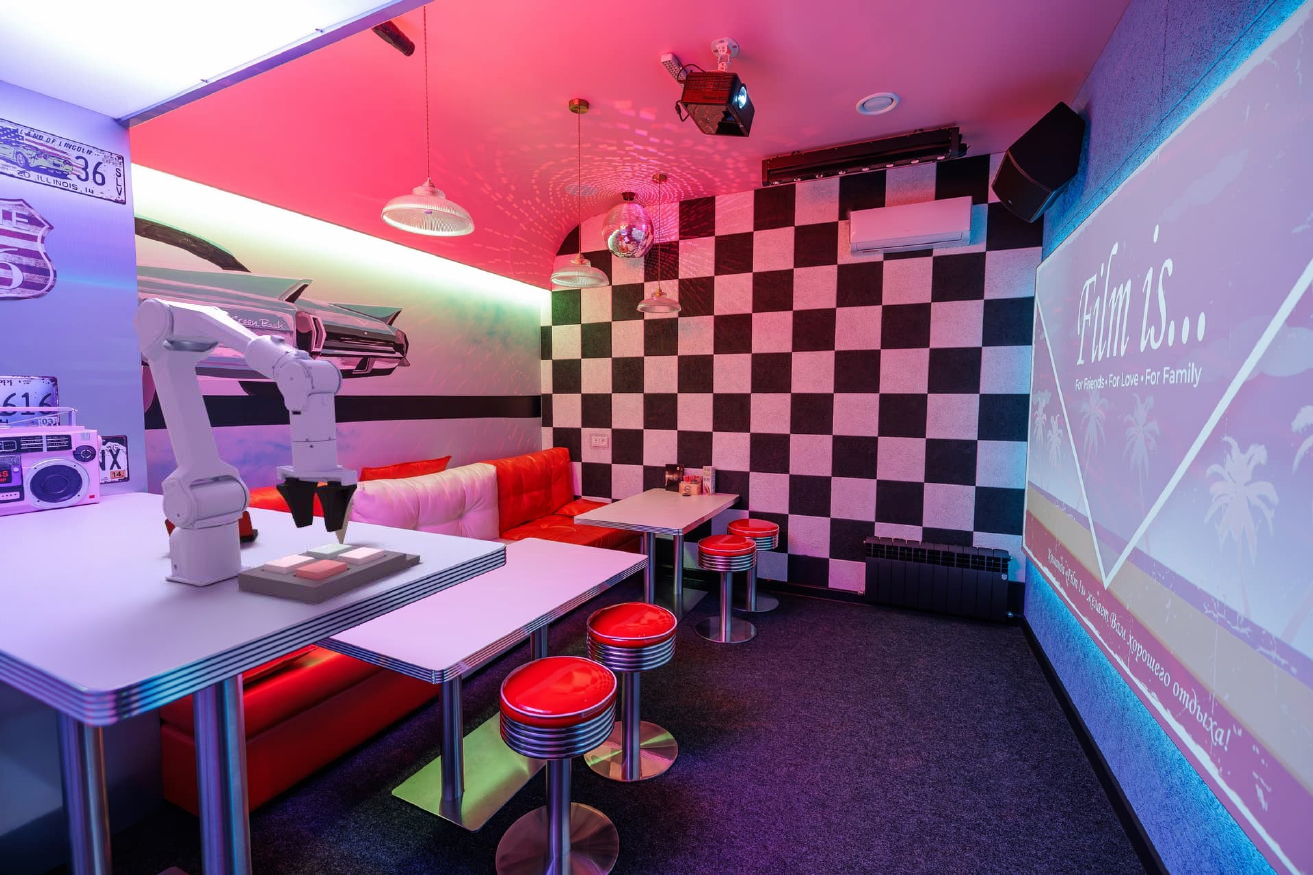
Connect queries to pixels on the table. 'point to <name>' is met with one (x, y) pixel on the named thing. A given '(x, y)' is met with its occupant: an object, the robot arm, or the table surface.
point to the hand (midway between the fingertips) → (319, 528)
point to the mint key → (329, 551)
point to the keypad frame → (326, 587)
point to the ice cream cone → (345, 522)
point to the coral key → (321, 569)
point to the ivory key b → (360, 556)
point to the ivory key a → (288, 564)
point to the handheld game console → (244, 525)
